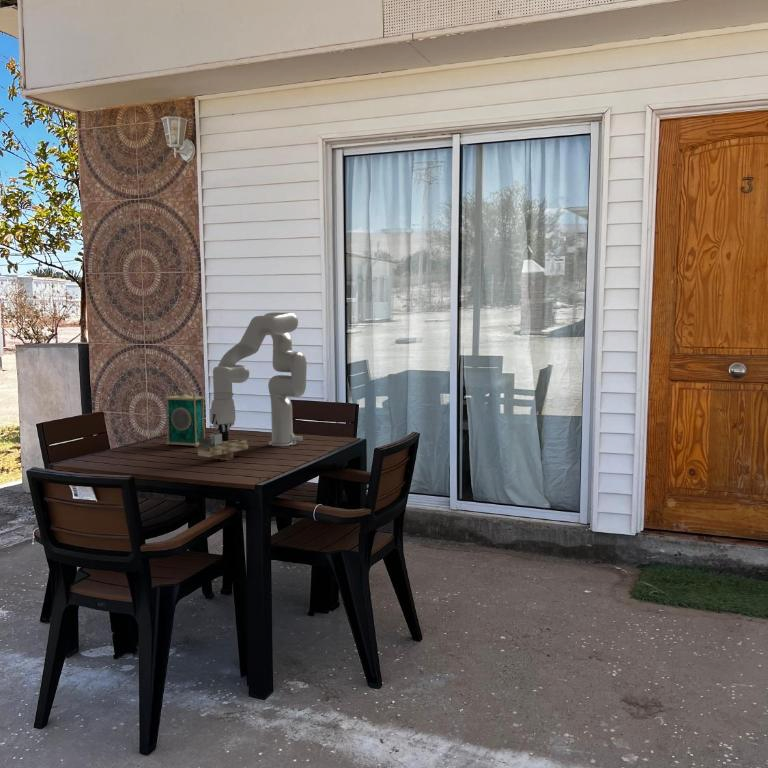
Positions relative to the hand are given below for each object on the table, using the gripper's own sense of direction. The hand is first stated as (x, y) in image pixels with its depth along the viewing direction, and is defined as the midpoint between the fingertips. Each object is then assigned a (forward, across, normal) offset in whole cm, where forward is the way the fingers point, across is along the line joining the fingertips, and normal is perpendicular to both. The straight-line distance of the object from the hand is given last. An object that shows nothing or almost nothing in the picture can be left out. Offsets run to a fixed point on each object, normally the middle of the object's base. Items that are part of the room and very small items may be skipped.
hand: (224, 440), depth 312 cm
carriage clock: (+8, -13, -40) cm, 42 cm away
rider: (+3, +4, 0) cm, 5 cm away
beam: (+8, 0, 0) cm, 8 cm away
